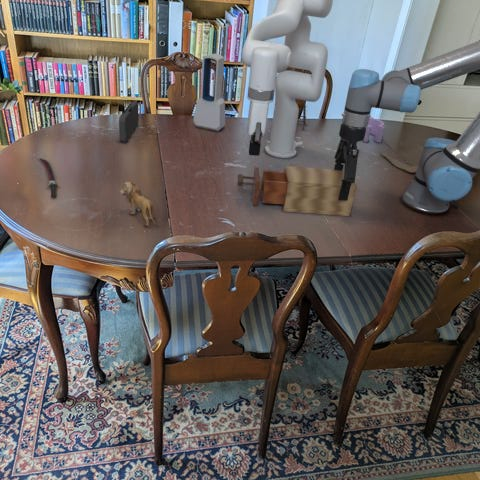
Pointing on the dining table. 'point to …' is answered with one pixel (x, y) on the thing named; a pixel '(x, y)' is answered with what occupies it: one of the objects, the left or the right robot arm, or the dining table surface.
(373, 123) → the clip
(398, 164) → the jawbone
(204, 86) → the electronic device
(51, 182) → the sword
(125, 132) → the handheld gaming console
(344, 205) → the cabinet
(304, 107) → the miniature windmill
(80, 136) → the dining table surface
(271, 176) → the drawer
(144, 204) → the lion figurine
